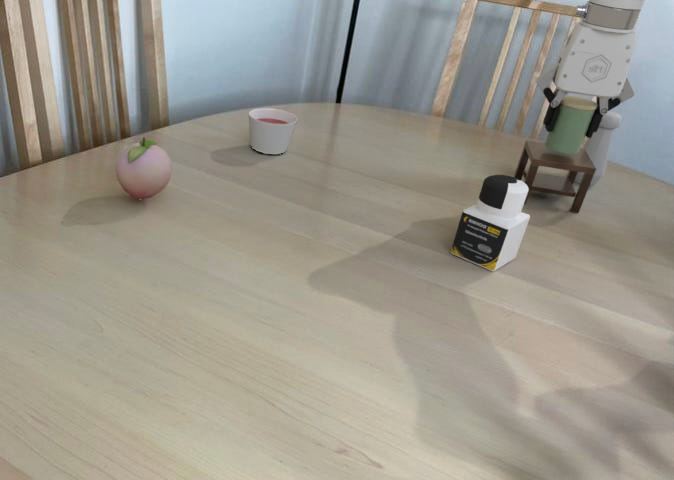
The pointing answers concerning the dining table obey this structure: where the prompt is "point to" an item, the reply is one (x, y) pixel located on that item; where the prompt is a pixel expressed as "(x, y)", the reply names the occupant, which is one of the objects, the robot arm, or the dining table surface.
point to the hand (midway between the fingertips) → (567, 131)
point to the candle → (271, 129)
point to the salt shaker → (601, 145)
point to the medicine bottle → (493, 224)
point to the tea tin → (571, 125)
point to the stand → (554, 183)
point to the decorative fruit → (143, 169)
